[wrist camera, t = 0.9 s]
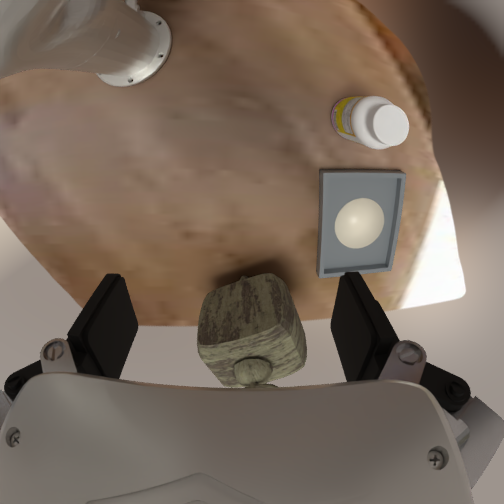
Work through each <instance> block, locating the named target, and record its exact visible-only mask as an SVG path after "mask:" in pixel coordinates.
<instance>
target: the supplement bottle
mask: <svg viewBox="0 0 504 504" xmlns="http://www.w3.org/2000/svg"><path fill="white" fill-rule="evenodd" d="M331 120H332V124H333V127H334V129H335V130H336V132H337V133H338V134H339V135H340V136H342V137H343V138H345V139H348V140H351V141H353V142H356V143H359V144H362V145H364V146H367V147H370V148H373V149H385V148H388V147H390V146H396V145H399V144H401V143H402V142H403V141H404V140H405V139H406V137H407V135H408V131H409V122H408V119H407V116H406V114H405V113H404V112H403V110H401V109H400V108H399V107H397V106H395V105H393V104H392V103H391V102H390V101H389V100H387V99H385V98H383V97H379V96H361V97H347V98H343V99H341V100H340V101H338V102H337V103H336V104H335V106H334V108H333V110H332V114H331Z"/></svg>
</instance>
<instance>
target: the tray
mask: <svg viewBox="0 0 504 504" xmlns="http://www.w3.org/2000/svg"><path fill="white" fill-rule="evenodd" d="M405 180H406V173H404V172H402V171H400V170H376V169H320V174H319V226H318V250H317V268H316V272H317V274H318V277H319V278H328V277H338V276H341V275H344V274H345V272H356V271H358V272H359V273H360V274H367V273H376V272H385V271H391V269H392V265H393V260H394V255H395V250H396V244H397V239H398V233H399V227H400V220H401V213H402V206H403V198H404V190H405Z"/></svg>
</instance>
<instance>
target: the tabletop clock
mask: <svg viewBox="0 0 504 504" xmlns="http://www.w3.org/2000/svg"><path fill="white" fill-rule="evenodd" d="M197 346H198V353H199V355H200V358H201V359H202V361H203V362H204V363H205V364H206V365H207V367H208V368H209V369H210V370H211V371H212V373H213V374H214V375H215V376H216V377H217V379H218V380H219V381H220V382H221V383H222V384H223V385H224V386H226V387H245V388H276V387H277V386H275V385H273V384H266V383H267V382H270V381H273V380H276V379H280V378H283V377H285V376H288V375H291V374H293V373H295V372H297V371H298V370H300V369H301V368H303V367H304V365H305V362H306V357H307V346H306V338H305V333H304V330H303V327H302V324H301V321H300V318H299V316H298V313H297V310H296V308H295V305H294V302H293V300H292V297H291V295H290V292H289V290H288V287H287V285H286V284H285V282H284V281H283V280H282V279H280V278H279V277H277V276H276V275H274V274H272V273H266V274H261V275H257V276H254V277H250V278H248V276H245V275H244V276H242V277H241V278H240V281H237V282H234V283H232V284H229V285H226V286H223V287H220V288H218V289H216V290H213V291H212V292H210V293H208V294H207V296H206V297H205V299H204V301H203V304H202V308H201V312H200V316H199V323H198V334H197Z"/></svg>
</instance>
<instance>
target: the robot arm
mask: <svg viewBox="0 0 504 504" xmlns="http://www.w3.org/2000/svg"><path fill="white" fill-rule="evenodd" d="M137 1H138V0H125V2H123V1H122V0H0V79H1V78H4V77H7V76H10V75H13V74H16V73H19V72H22V71H26V70H32V69H60V70H72V71H82V72H91V73H96V74H97V76H98V77H99V78H100V79H101V80H102V81H103V82H105V83H107V84H109V85H112V86H117V87H128V86H133V85H137V84H139V83H142V82H144V81H145V80H147V79H149V78H150V77H151V76H153V75H154V74H155V73H156V72H157V71H158V70H159V69H160V68H161V67H162V65H163V64H164V62H165V61H166V59H167V57H168V55H169V53H170V49H171V45H172V36H171V31H170V28H169V26H168V24H167V23H166V22H165V21H164V20H163V19H162V18H161V17H160V16H158V15H157V14H155V13H152V12H149V11H140V6H139V5H137ZM160 23H162V24H161V25H159V24H160ZM161 55H164V56H163V57H162V58H161ZM132 79H133V82H132ZM137 331H138V322H137V319H136V315H135V312H134V309H133V306H132V303H131V300H130V296H129V293H128V290H127V286H126V283H125V279H124V278H123V277H121V275H120V274H106V276H105V277H104V278H103V280H102V281H101V283H100V284H99V286H98V287H97V289H96V290H95V291H94V293H93V294H92V296H91V297H90V299H89V300H88V302H87V303H86V305H85V307H84V308H83V310H82V311H81V313H80V314H79V316H78V317H77V319H76V321H75V322H74V324H73V326H72V327H71V329H70V330H69V332H68V334H67V335H68V338H67V340H64V339H61V338H56V339H53V340H51V341H49V342H47V343H46V344H45V345H44V346H43V348H42V350H41V352H40V358H41V360H39V361H37V362H35V363H33V364H30V365H28V366H26V367H25V368H22V369H20V370H19V371H16V372H14V373H13V374H11V375H10V376H9V377H8V378H7V380H6V382H5V385H4V390H5V391H2V390H0V504H474V503H473V497H472V492H471V489H472V488H473V487H474V485H475V484H476V482H477V481H478V479H479V478H480V476H481V475H482V473H483V471H484V470H485V469H486V467H487V466H488V464H489V462H490V461H491V459H492V457H493V456H494V454H495V452H496V450H497V449H498V447H499V445H500V443H501V441H502V439H503V438H504V420H503V419H502V418H501V417H500V416H499V415H498V414H496V413H495V412H494V411H493V410H492V409H490V408H489V407H488V406H487V405H486V404H485V403H483V402H482V401H481V400H480V399H478V398H477V397H476V396H475V397H474V398H472V397H471V396H470V394H471V392H470V388H469V386H468V384H467V383H466V382H465V381H464V380H463V379H462V378H460V377H458V376H456V375H453V374H451V373H449V372H447V371H445V370H443V369H441V368H438V367H436V366H434V365H432V364H430V363H428V362H426V358H427V356H426V352H425V350H424V349H423V347H421V346H420V345H419V344H417V343H416V342H413V341H409V340H403V341H400V340H399V339H398V337H397V335H396V333H395V331H394V329H393V327H392V325H391V324H390V322H389V320H388V318H387V316H386V314H385V313H384V311H383V309H382V307H381V305H380V304H379V302H378V301H377V300H375V299H374V297H373V295H372V293H371V292H370V290H369V288H368V286H367V285H366V283H365V281H364V280H363V278H362V276H361V275H360V273H359V272H358V271H356V272H345V274H344V275H341V277H340V280H339V286H338V291H337V296H336V301H335V305H334V310H333V315H332V319H331V332H332V335H333V338H334V341H335V344H336V347H337V350H338V354H339V357H340V360H341V363H342V367H343V370H344V374H345V377H346V380H347V382H343V383H333V384H322V385H309V386H297V387H276V388H208V387H188V386H175V385H163V384H152V383H144V382H136V381H129V380H121V379H119V378H120V375H121V372H122V369H123V366H124V364H125V361H126V359H127V356H128V353H129V351H130V348H131V346H132V343H133V341H134V338H135V336H136V333H137Z"/></svg>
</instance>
